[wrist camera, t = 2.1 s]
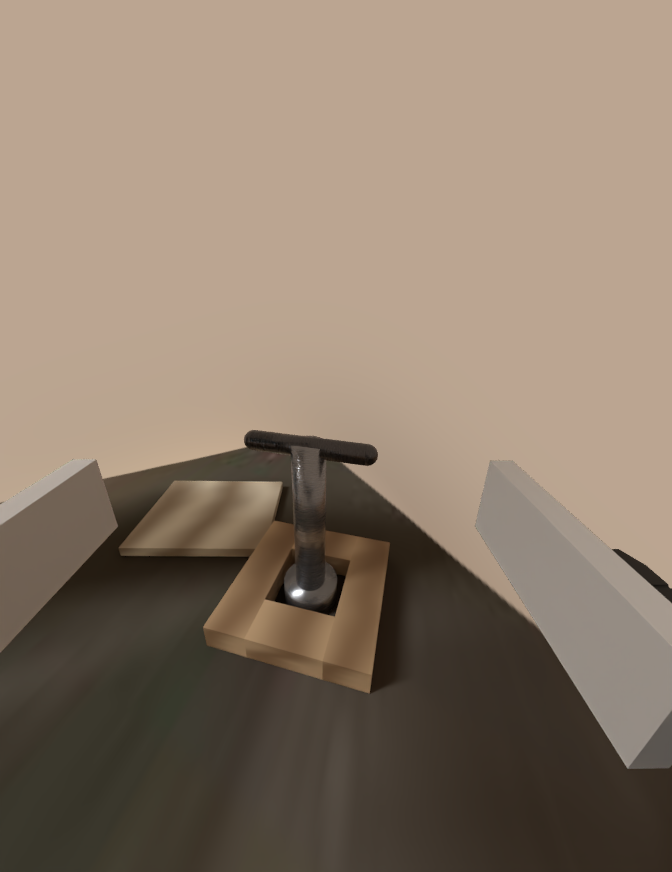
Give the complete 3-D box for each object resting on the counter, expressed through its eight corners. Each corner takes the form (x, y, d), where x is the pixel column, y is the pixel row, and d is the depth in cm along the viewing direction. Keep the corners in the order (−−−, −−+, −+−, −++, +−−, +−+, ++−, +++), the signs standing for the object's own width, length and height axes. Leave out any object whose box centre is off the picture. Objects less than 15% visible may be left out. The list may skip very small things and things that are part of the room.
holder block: (207, 645, 23) (202, 627, 22) (275, 535, 34) (274, 520, 33) (369, 693, 21) (371, 675, 20) (388, 558, 31) (389, 542, 30)
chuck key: (248, 604, 26) (227, 442, 20) (271, 565, 30) (258, 418, 24) (360, 633, 24) (373, 462, 18) (369, 586, 28) (382, 433, 22)
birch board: (120, 555, 31) (118, 548, 30) (175, 487, 42) (174, 480, 41) (265, 556, 31) (264, 548, 31) (282, 488, 42) (282, 481, 42)
